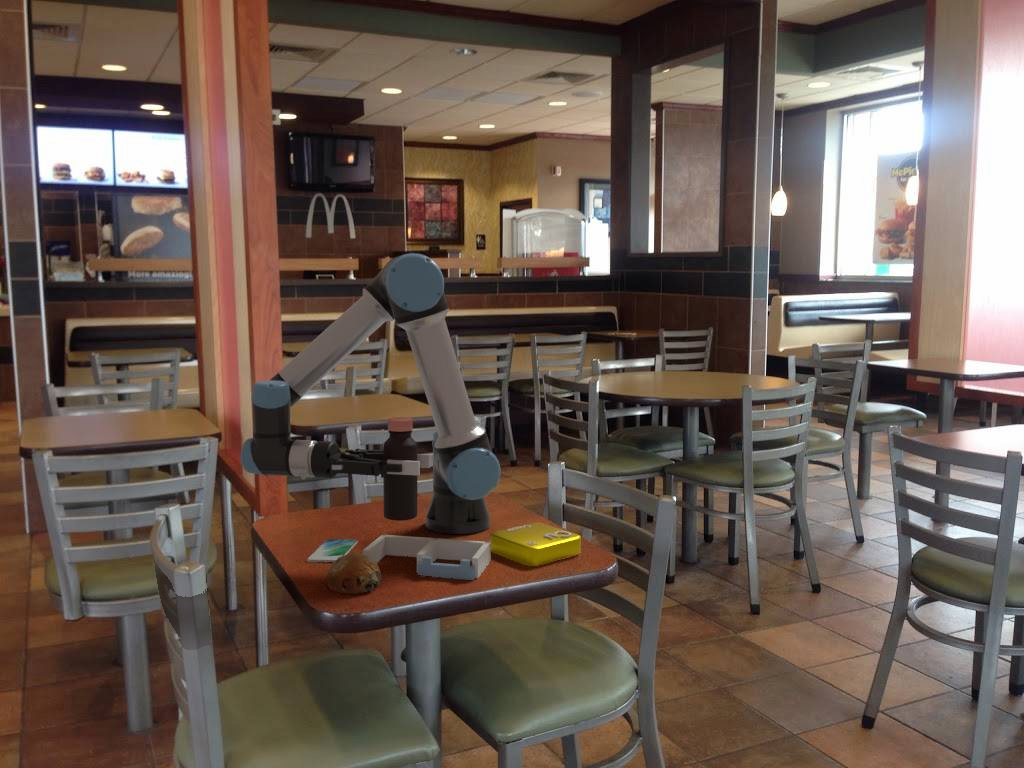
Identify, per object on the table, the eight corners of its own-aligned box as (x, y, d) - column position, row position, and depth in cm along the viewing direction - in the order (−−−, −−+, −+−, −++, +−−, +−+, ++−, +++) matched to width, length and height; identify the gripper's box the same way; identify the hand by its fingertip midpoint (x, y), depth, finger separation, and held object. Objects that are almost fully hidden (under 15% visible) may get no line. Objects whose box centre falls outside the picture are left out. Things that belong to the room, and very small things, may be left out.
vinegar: (391, 511, 185) (390, 415, 182) (422, 514, 183) (422, 417, 181) (378, 519, 178) (377, 420, 176) (410, 522, 176) (410, 422, 174)
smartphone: (305, 560, 183) (326, 538, 197) (305, 564, 183) (326, 542, 198) (339, 560, 182) (358, 539, 197) (339, 565, 182) (358, 543, 197)
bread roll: (374, 595, 174) (368, 554, 177) (391, 587, 166) (384, 545, 168) (325, 603, 170) (319, 561, 172) (339, 596, 161) (333, 552, 163)
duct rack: (382, 552, 189) (382, 534, 189) (490, 560, 184) (490, 541, 184) (360, 571, 177) (360, 551, 176) (476, 580, 172) (476, 560, 172)
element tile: (537, 539, 201) (538, 519, 200) (584, 555, 190) (585, 533, 189) (485, 552, 191) (485, 530, 191) (532, 570, 180) (532, 547, 180)
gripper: (335, 467, 193) (438, 472, 188) (296, 487, 174) (409, 494, 169) (334, 433, 192) (438, 437, 187) (295, 449, 173) (409, 455, 168)
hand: (424, 464), depth 178 cm, fingers closed on vinegar, 6 cm apart
